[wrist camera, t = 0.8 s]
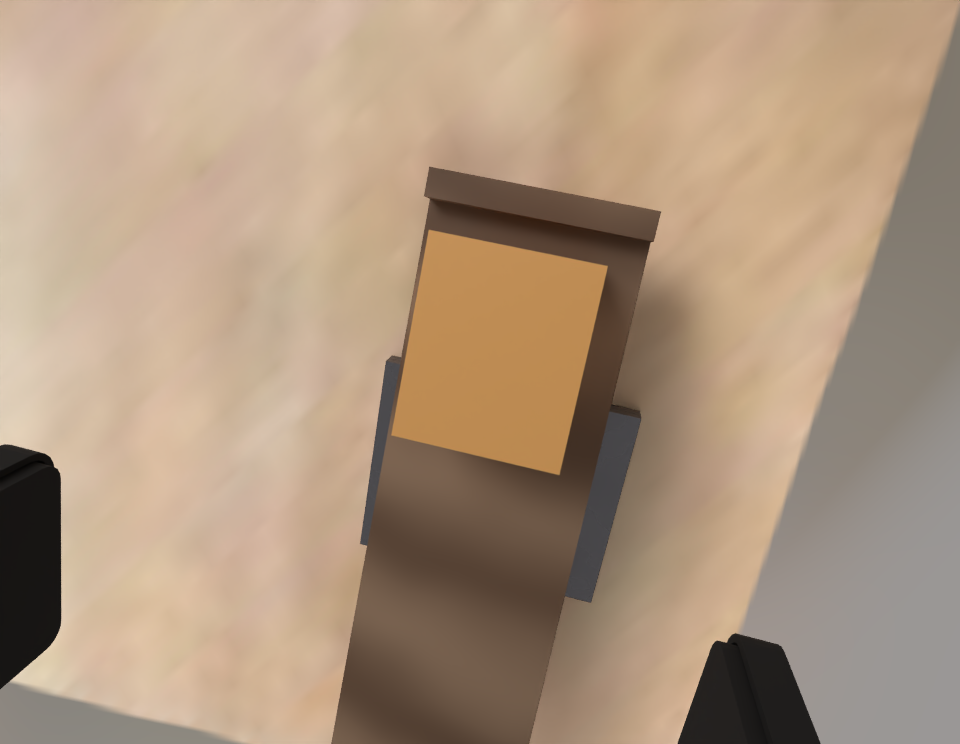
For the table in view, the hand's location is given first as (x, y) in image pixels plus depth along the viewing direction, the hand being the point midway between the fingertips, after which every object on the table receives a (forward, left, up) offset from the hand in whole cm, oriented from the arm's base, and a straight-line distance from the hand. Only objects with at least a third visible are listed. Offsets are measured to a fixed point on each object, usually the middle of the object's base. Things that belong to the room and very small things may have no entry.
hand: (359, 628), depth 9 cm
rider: (0, 0, -17) cm, 17 cm away
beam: (+7, -5, -17) cm, 19 cm away
